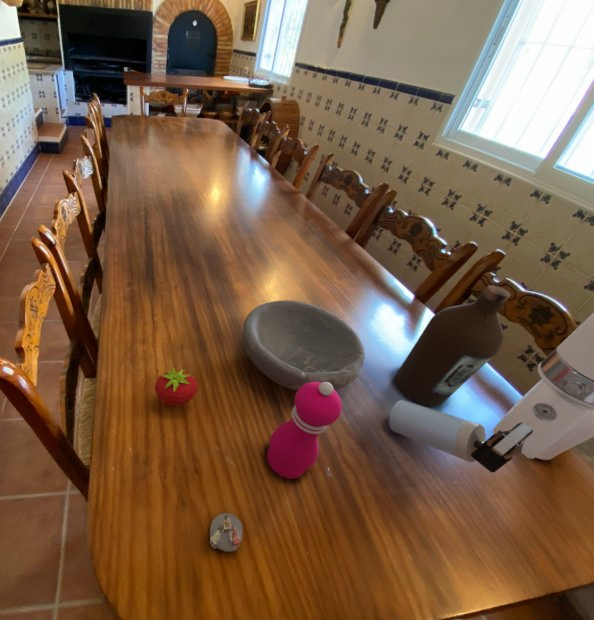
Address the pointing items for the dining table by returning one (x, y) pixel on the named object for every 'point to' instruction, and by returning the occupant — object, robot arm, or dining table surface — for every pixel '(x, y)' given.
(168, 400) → the red tomato
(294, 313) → the bowl
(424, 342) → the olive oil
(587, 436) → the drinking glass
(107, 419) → the dining table surface
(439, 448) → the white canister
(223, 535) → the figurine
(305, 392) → the pepper mill
